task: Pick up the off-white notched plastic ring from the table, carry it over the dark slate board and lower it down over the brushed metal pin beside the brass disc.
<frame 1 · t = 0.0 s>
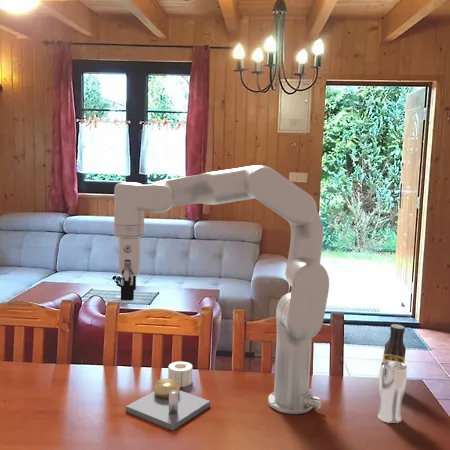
hand: (128, 294, 140), 31 cm above the table, tool pointing down, fingers open, 9 cm apart
pin: (173, 417, 139), resting on board
board: (168, 408, 144), on the table
brass disc: (166, 399, 149), resting on board
ring: (180, 381, 161), on the table
beer glass: (389, 419, 143), on the table
sauce bottle: (390, 390, 160), on the table
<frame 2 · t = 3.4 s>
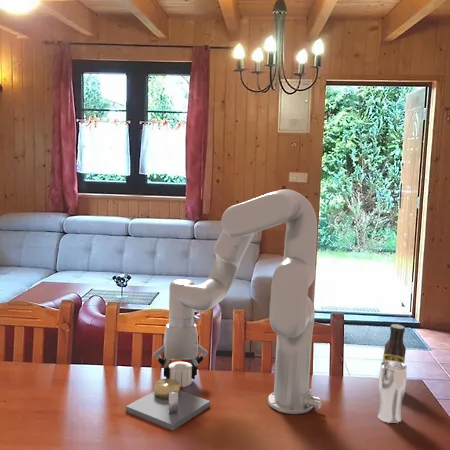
hand: (180, 377, 160), 1 cm above the table, tool pointing down, fingers closed on ring, 7 cm apart
ring: (180, 381, 161), on the table, touching gripper
everything else where it was.
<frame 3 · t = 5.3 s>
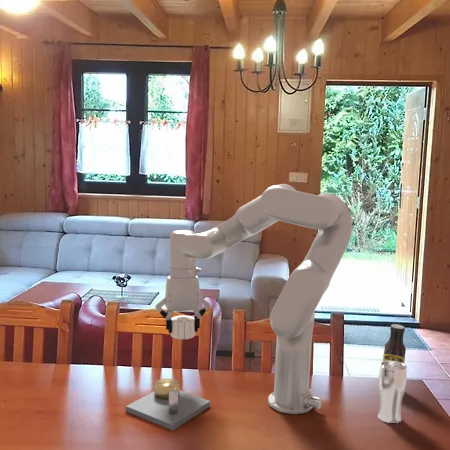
hand: (182, 330, 158), 16 cm above the table, tool pointing down, fingers closed on ring, 7 cm apart
ring: (182, 335, 158), point 15 cm above the table, touching gripper
everything else where it was.
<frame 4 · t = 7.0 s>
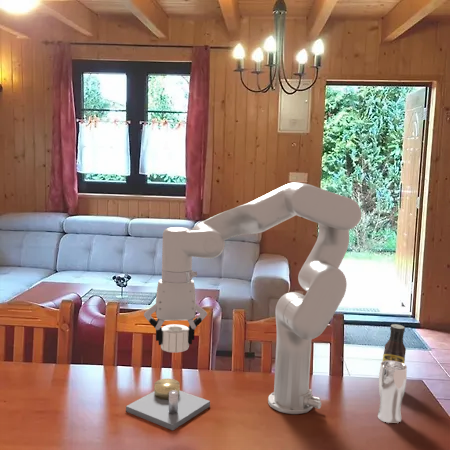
hand: (174, 342, 138), 20 cm above the table, tool pointing down, fingers closed on ring, 7 cm apart
ring: (174, 347, 138), point 18 cm above the table, touching gripper
everything else where it was.
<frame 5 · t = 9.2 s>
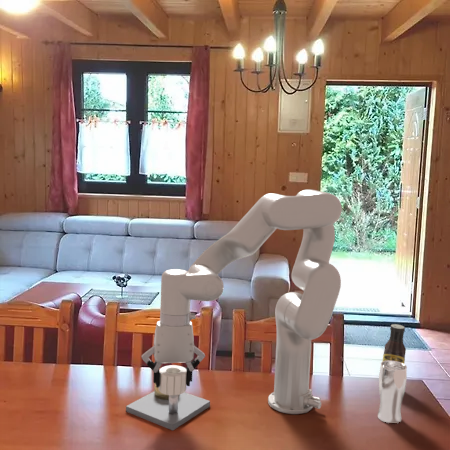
hand: (172, 384, 138), 9 cm above the table, tool pointing down, fingers closed on ring, 7 cm apart
ring: (172, 389, 138), point 8 cm above the table, touching gripper
everything else where it was.
when the fingers open (4 cm above the table, at t = 10.9 s): ring stays where it is, resting on board.
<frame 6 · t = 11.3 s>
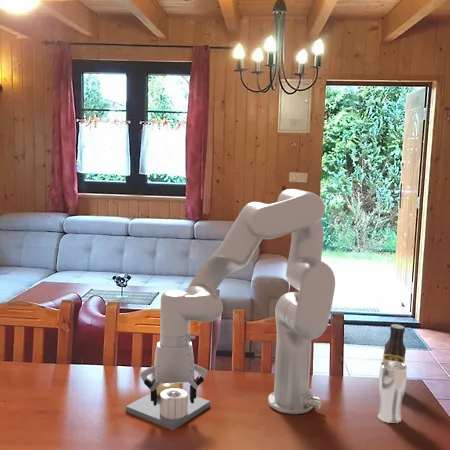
hand: (173, 402, 139), 4 cm above the table, tool pointing down, fingers open, 9 cm apart
ring: (173, 412, 139), point 1 cm above the table, touching board
everything else where it was.
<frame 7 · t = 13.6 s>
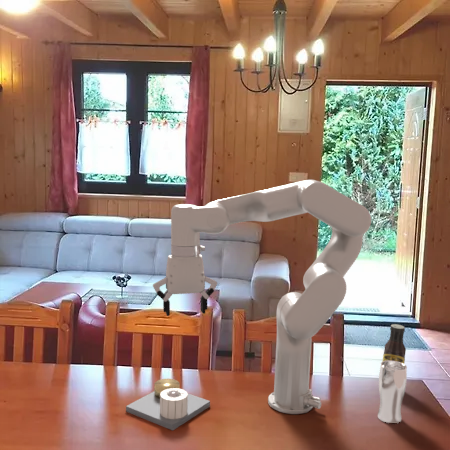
hand: (185, 313, 144), 26 cm above the table, tool pointing down, fingers open, 9 cm apart
nothing on the table moved.
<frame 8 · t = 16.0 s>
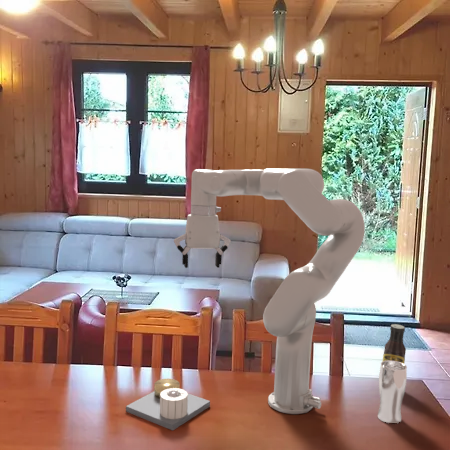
hand: (201, 266, 162), 34 cm above the table, tool pointing down, fingers open, 9 cm apart
nothing on the table moved.
at the end: ring 0.1 cm from the target spot on the board, point 1.5 cm above the board's base; ring tilted 0°; the gripper is holding nothing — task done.
